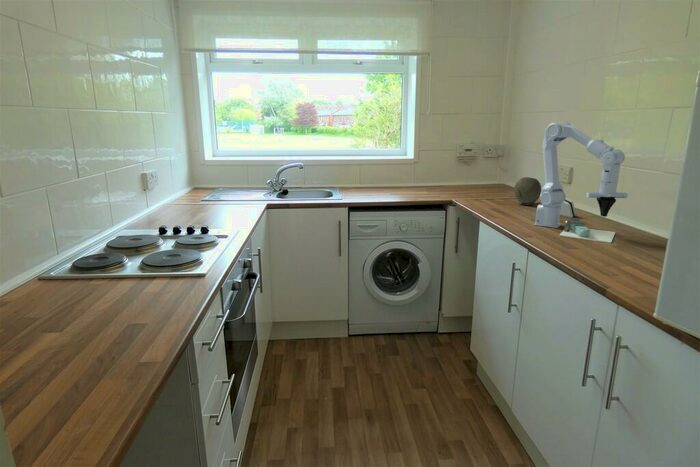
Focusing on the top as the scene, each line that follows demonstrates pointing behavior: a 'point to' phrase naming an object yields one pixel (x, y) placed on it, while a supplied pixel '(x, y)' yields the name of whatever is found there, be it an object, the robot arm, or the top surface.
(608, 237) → the plate
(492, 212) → the top surface
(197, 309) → the top surface
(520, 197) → the cantaloupe
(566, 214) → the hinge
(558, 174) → the robot arm
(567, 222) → the keeper
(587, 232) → the link
